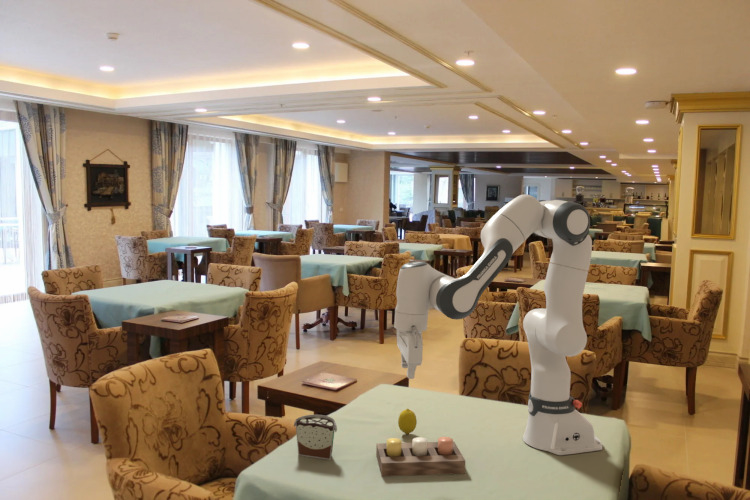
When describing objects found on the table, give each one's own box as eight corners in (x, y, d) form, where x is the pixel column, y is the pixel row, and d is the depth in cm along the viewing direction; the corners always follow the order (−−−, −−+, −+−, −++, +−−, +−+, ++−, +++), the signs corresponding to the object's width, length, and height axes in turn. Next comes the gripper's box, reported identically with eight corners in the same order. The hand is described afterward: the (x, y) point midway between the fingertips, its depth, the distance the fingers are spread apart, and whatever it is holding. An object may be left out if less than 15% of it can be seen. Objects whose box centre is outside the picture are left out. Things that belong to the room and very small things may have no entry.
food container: (342, 451, 166) (343, 416, 165) (335, 460, 160) (335, 425, 159) (301, 445, 169) (302, 411, 168) (293, 454, 164) (293, 419, 163)
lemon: (414, 439, 176) (415, 412, 175) (396, 437, 177) (397, 411, 176) (417, 431, 181) (418, 406, 180) (399, 429, 182) (400, 404, 181)
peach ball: (450, 448, 162) (451, 436, 161) (454, 455, 158) (454, 442, 157) (436, 449, 161) (436, 436, 161) (439, 455, 157) (439, 443, 157)
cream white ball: (425, 449, 161) (425, 437, 161) (428, 456, 157) (428, 443, 157) (411, 449, 160) (411, 437, 160) (413, 456, 156) (413, 443, 156)
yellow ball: (400, 450, 160) (400, 437, 160) (402, 456, 156) (402, 444, 156) (385, 450, 160) (385, 438, 159) (387, 457, 156) (387, 444, 155)
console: (453, 453, 166) (454, 441, 166) (464, 473, 154) (465, 460, 154) (376, 455, 164) (376, 443, 163) (381, 476, 152) (381, 463, 151)
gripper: (430, 331, 148) (426, 385, 149) (415, 315, 168) (412, 362, 169) (405, 330, 147) (401, 384, 148) (394, 314, 168) (390, 361, 169)
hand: (407, 372), depth 159 cm, fingers open, 8 cm apart
